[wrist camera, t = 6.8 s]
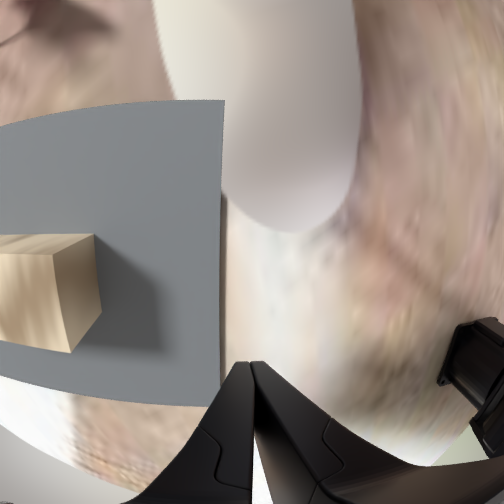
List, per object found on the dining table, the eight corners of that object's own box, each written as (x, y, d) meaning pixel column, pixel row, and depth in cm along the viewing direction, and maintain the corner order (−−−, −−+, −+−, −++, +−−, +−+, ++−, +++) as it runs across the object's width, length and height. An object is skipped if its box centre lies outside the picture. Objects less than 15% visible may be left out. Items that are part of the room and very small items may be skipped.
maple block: (70, 353, 12) (-44, 328, 11) (102, 312, 17) (-6, 300, 16) (52, 254, 11) (-62, 252, 10) (93, 233, 16) (-17, 235, 15)
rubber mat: (220, 403, 20) (220, 406, 20) (-11, 369, 18) (-13, 371, 17) (224, 101, 15) (224, 100, 15) (-45, 142, 13) (-48, 142, 12)
